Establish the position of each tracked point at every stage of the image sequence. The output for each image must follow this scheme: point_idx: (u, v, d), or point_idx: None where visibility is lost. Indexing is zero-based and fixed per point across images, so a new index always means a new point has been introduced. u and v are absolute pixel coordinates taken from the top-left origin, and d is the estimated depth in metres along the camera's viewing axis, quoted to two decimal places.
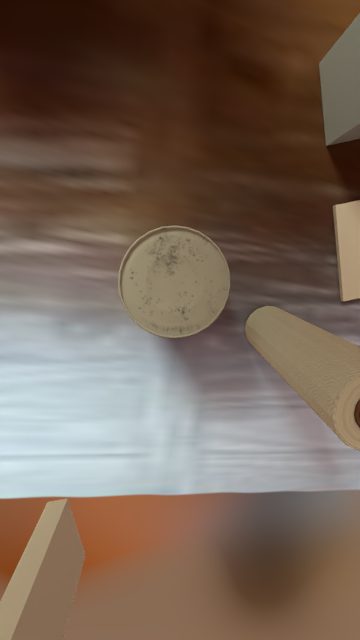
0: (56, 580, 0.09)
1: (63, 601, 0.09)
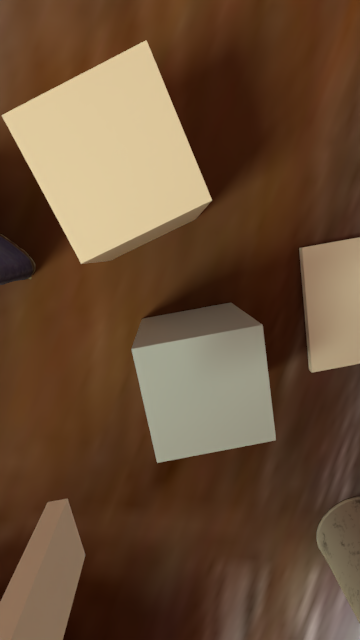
0: (57, 580, 0.09)
1: (63, 601, 0.09)
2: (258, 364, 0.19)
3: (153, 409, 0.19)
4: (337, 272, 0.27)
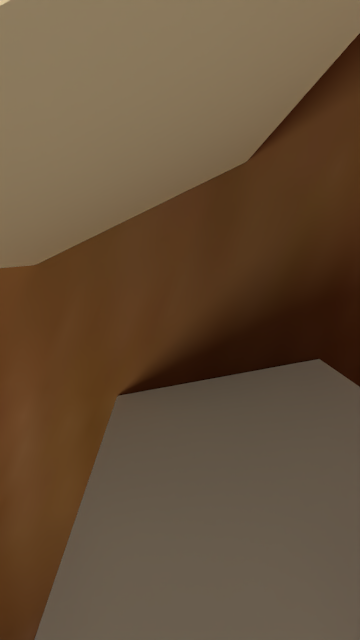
0: None
1: None
2: None
3: None
4: None
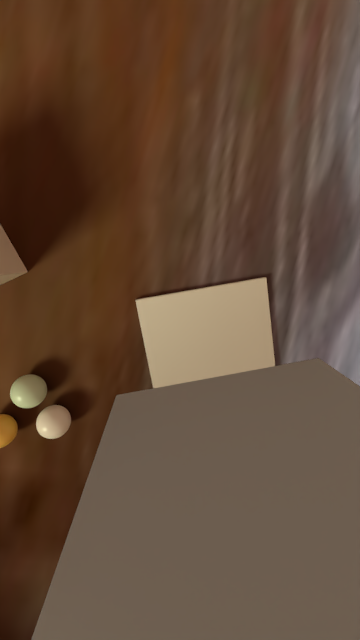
0: None
1: None
2: None
3: None
4: (174, 323, 0.27)
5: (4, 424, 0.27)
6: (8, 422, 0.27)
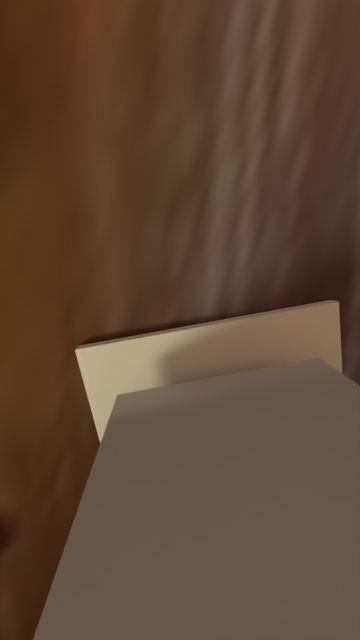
0: None
1: None
2: None
3: None
4: None
5: None
6: None
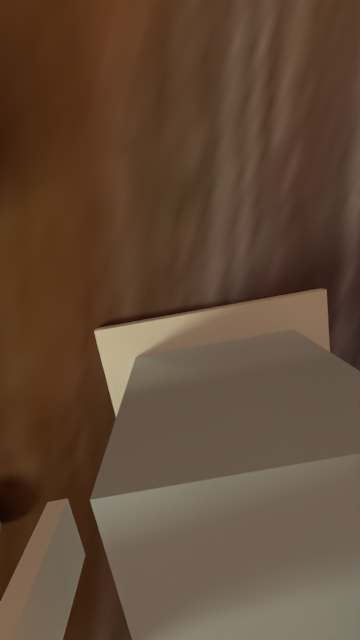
0: (56, 580, 0.09)
1: (64, 600, 0.09)
2: None
3: (152, 632, 0.08)
4: None
5: None
6: None
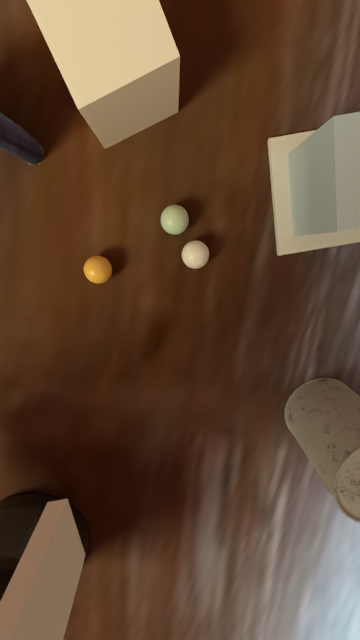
0: (56, 580, 0.09)
1: (63, 601, 0.09)
2: None
3: (342, 177, 0.23)
4: None
5: None
6: None
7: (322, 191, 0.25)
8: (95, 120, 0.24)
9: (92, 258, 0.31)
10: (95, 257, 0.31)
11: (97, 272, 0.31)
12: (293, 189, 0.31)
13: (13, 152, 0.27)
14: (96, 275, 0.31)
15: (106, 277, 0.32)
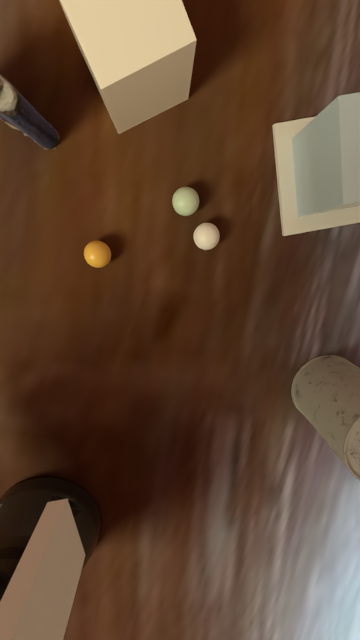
0: (56, 580, 0.09)
1: (64, 601, 0.09)
2: None
3: (347, 153, 0.25)
4: None
5: None
6: None
7: (327, 168, 0.27)
8: (114, 102, 0.26)
9: (87, 244, 0.33)
10: (89, 243, 0.33)
11: (86, 259, 0.33)
12: (297, 171, 0.32)
13: (33, 134, 0.28)
14: (87, 261, 0.33)
15: (95, 264, 0.33)
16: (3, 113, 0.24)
